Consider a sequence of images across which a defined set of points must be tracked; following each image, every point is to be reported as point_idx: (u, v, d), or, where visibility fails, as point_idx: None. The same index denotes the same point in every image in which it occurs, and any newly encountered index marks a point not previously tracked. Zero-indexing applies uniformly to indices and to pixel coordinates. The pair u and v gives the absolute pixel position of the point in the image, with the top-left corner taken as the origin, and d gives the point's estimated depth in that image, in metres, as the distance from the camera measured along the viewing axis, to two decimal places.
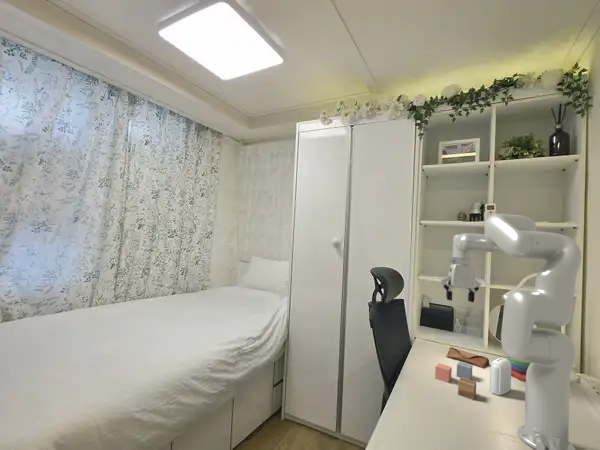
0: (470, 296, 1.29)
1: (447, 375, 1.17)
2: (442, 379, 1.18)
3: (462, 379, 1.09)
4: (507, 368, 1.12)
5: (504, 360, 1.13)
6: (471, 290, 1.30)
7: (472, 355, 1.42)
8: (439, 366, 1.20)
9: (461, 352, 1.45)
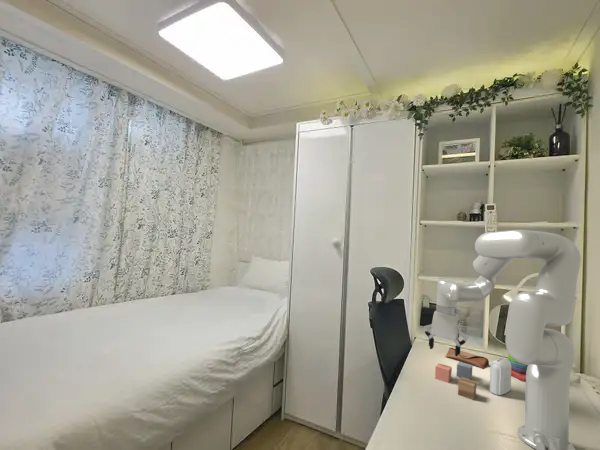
0: (432, 343, 1.24)
1: (447, 375, 1.17)
2: (442, 379, 1.18)
3: (462, 379, 1.09)
4: (507, 368, 1.12)
5: (504, 360, 1.13)
6: None
7: (471, 355, 1.42)
8: (439, 366, 1.20)
9: (460, 352, 1.45)
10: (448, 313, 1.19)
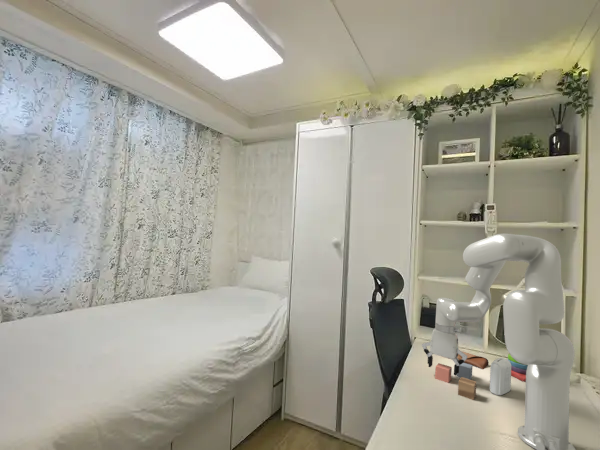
0: (431, 360, 1.24)
1: (447, 375, 1.17)
2: (442, 379, 1.18)
3: (462, 379, 1.09)
4: (507, 368, 1.12)
5: (504, 360, 1.13)
6: None
7: (471, 355, 1.41)
8: (439, 366, 1.20)
9: None
10: (447, 332, 1.18)
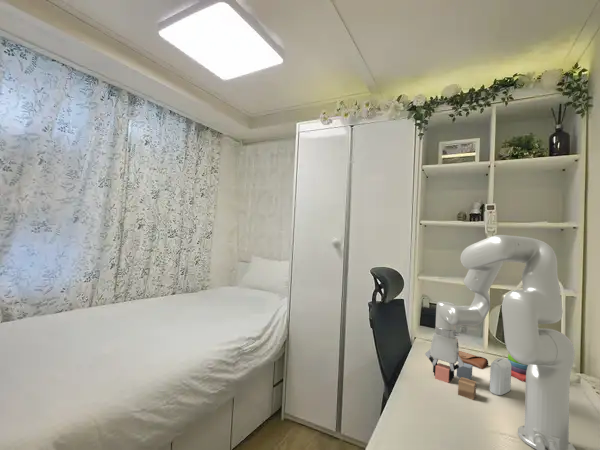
0: None
1: (447, 375, 1.17)
2: (442, 379, 1.18)
3: (462, 379, 1.09)
4: (507, 368, 1.12)
5: (504, 360, 1.13)
6: None
7: (471, 356, 1.41)
8: (439, 366, 1.20)
9: (460, 352, 1.45)
10: (447, 336, 1.18)
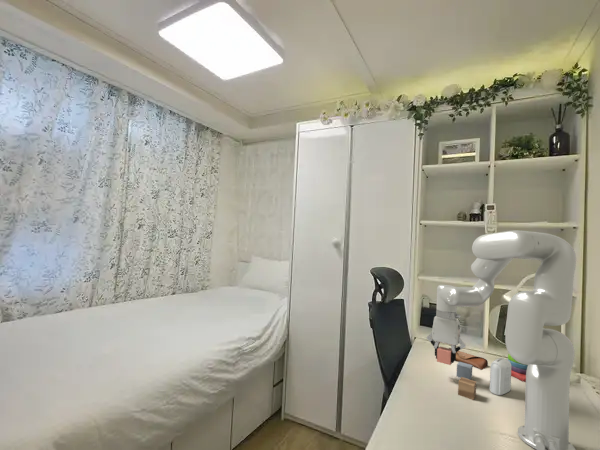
0: None
1: (449, 357, 1.17)
2: (444, 361, 1.18)
3: (462, 379, 1.09)
4: (507, 368, 1.12)
5: (504, 360, 1.13)
6: None
7: (470, 356, 1.41)
8: (441, 349, 1.20)
9: (459, 353, 1.44)
10: (448, 318, 1.18)
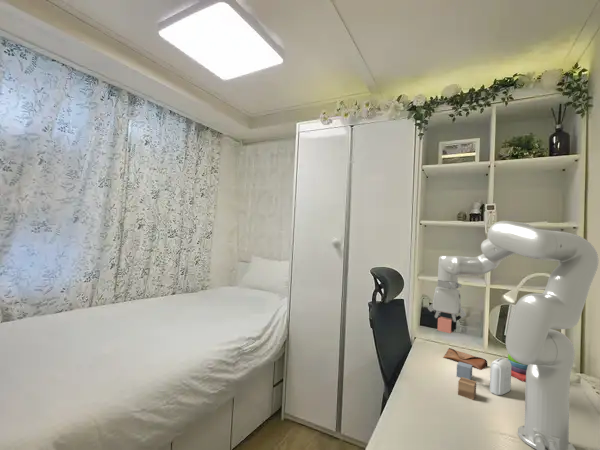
0: None
1: (449, 325, 1.18)
2: (444, 330, 1.19)
3: (462, 379, 1.09)
4: (507, 368, 1.12)
5: (504, 360, 1.13)
6: None
7: (470, 356, 1.40)
8: (442, 318, 1.21)
9: (459, 353, 1.44)
10: (449, 287, 1.19)
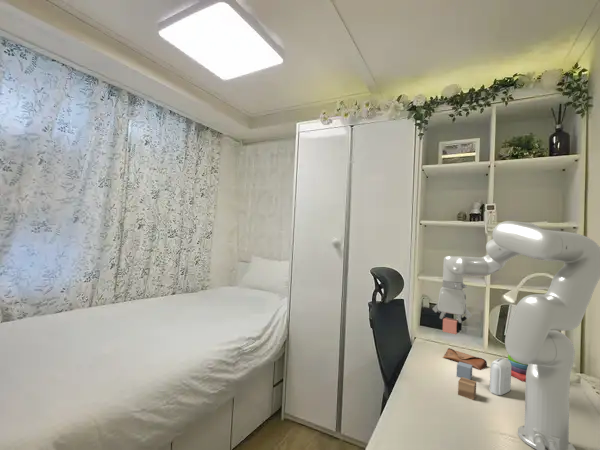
0: None
1: (455, 326, 1.17)
2: (450, 331, 1.18)
3: (462, 379, 1.09)
4: (507, 368, 1.12)
5: (504, 360, 1.13)
6: None
7: (469, 356, 1.40)
8: (447, 319, 1.20)
9: (458, 353, 1.44)
10: (455, 288, 1.18)
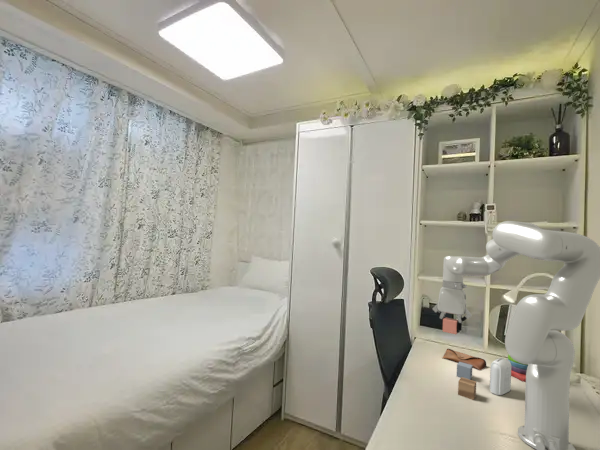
0: None
1: (455, 326, 1.17)
2: (450, 331, 1.18)
3: (462, 379, 1.09)
4: (507, 368, 1.12)
5: (504, 360, 1.13)
6: None
7: (469, 356, 1.40)
8: (447, 319, 1.20)
9: (458, 353, 1.43)
10: (455, 288, 1.18)
